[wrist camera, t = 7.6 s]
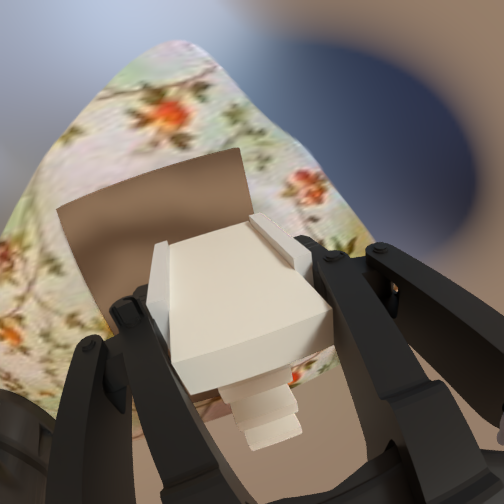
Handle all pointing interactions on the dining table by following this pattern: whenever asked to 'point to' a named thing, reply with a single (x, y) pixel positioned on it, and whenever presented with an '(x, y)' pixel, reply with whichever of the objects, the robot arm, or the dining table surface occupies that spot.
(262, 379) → the domino
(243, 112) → the dining table surface
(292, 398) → the domino
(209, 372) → the domino
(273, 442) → the domino
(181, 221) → the walnut board
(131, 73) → the dining table surface
